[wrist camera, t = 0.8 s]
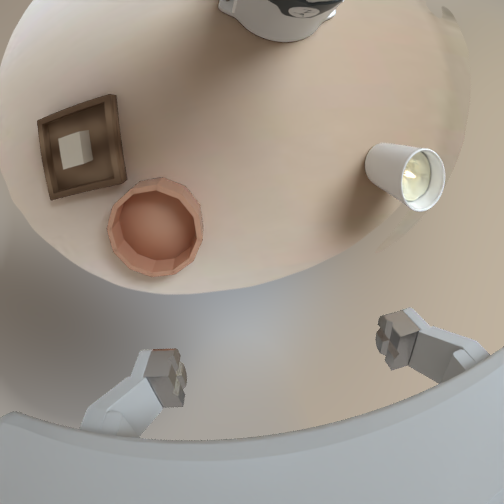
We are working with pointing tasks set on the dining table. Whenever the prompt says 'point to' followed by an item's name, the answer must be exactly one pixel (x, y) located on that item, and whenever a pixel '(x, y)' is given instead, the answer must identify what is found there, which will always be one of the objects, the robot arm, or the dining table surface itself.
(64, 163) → the off-white cube block
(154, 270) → the terracotta bowl
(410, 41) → the dining table surface
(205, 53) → the dining table surface
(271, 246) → the dining table surface
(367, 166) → the candle holder
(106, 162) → the walnut tray
